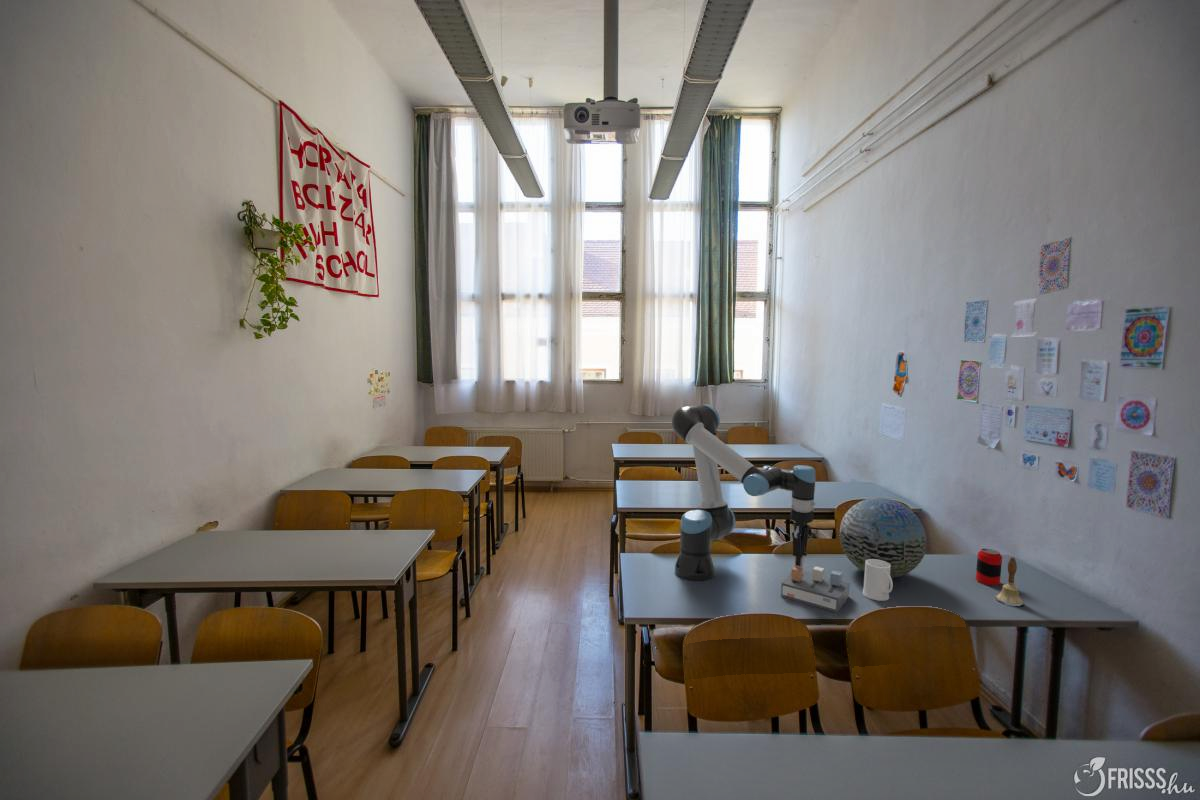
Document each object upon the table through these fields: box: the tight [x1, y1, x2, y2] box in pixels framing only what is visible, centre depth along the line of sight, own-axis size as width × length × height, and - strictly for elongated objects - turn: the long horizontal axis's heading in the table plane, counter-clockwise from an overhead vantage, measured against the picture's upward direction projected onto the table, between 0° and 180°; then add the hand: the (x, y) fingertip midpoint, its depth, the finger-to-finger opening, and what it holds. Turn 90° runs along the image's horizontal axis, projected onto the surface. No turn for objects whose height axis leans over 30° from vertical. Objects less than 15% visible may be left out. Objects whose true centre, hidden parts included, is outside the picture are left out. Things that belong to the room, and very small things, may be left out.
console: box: [780, 570, 850, 613], centre depth 197 cm, size 19×16×5 cm
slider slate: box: [829, 570, 843, 586], centre depth 196 cm, size 3×3×4 cm
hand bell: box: [995, 556, 1024, 604], centre depth 195 cm, size 8×8×16 cm
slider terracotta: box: [790, 565, 804, 582], centre depth 199 cm, size 3×3×4 cm
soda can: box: [975, 548, 1003, 586], centre depth 212 cm, size 8×8×12 cm
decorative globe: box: [839, 497, 927, 579], centre depth 216 cm, size 30×30×30 cm
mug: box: [862, 559, 894, 602], centre depth 197 cm, size 12×8×12 cm
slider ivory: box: [812, 566, 825, 582], centre depth 199 cm, size 3×3×4 cm
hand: (798, 573), depth 201 cm, fingers closed
